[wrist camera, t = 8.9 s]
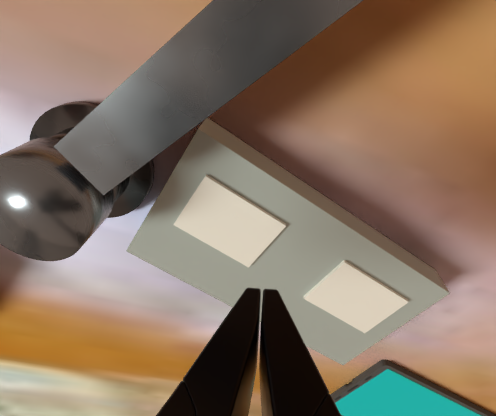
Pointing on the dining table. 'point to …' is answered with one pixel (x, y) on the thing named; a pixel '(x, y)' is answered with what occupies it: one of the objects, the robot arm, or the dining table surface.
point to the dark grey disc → (71, 115)
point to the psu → (281, 247)
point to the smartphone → (399, 395)
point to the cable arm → (146, 119)
